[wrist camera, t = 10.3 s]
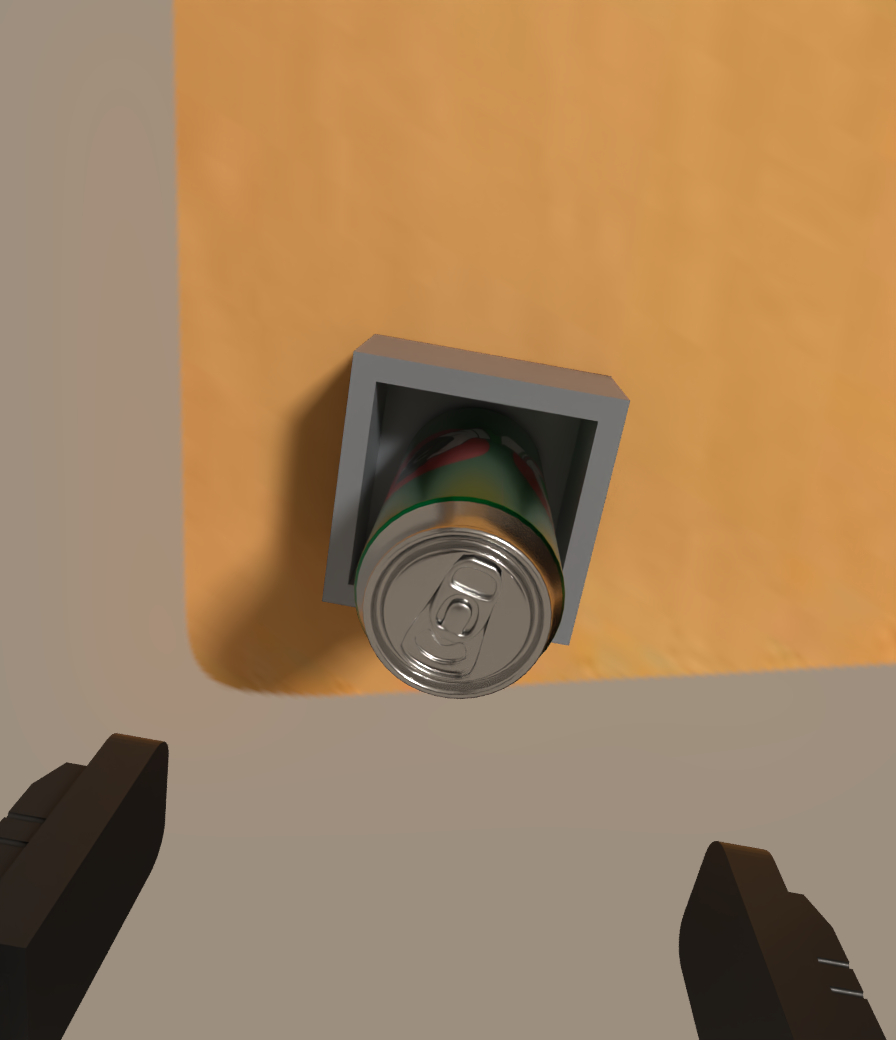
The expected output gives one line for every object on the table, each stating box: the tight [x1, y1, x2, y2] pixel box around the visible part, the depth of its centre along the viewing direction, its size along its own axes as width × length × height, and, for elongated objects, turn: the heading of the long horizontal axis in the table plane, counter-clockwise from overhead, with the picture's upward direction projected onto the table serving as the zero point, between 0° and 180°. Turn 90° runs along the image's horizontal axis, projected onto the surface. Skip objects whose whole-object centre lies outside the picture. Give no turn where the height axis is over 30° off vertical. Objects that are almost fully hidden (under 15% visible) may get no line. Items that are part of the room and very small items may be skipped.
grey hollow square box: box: [322, 334, 630, 645], centre depth 28 cm, size 9×9×4 cm
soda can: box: [354, 407, 565, 699], centre depth 24 cm, size 5×5×12 cm
